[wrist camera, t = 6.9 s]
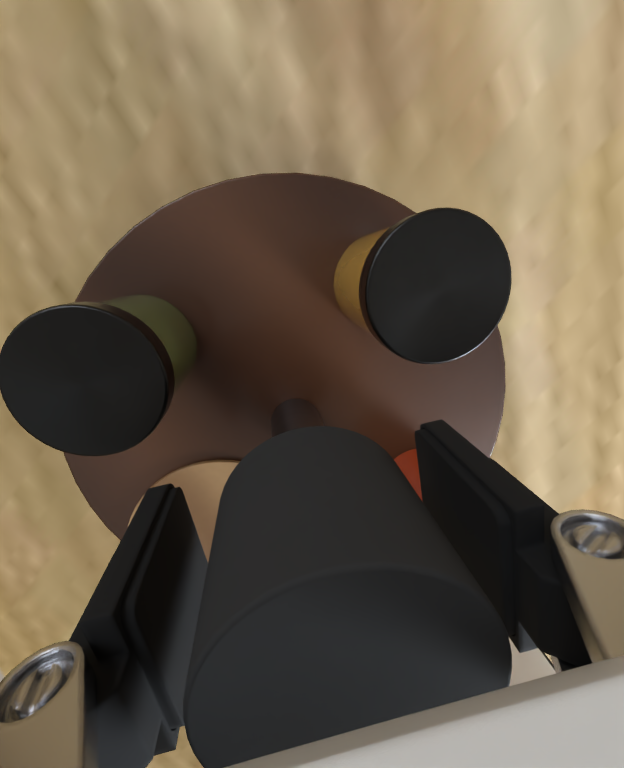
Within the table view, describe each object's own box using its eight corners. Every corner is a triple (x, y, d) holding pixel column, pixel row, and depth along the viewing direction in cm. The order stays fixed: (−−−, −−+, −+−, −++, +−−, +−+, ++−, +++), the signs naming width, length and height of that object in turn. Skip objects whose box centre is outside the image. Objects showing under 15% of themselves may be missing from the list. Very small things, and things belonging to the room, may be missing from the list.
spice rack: (195, 63, 13) (-312, -1473, 1) (567, 335, 17) (1134, 459, 6) (-10, 514, 16) (-604, 1050, 5) (341, 639, 21) (432, 1069, 10)
